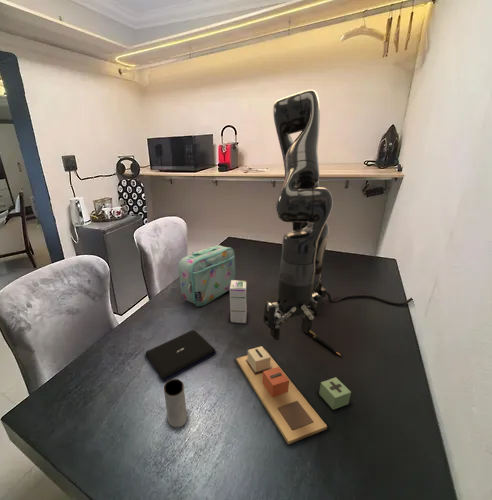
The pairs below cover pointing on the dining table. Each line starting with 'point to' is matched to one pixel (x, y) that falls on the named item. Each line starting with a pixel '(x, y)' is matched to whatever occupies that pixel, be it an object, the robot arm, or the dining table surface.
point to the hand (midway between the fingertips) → (290, 334)
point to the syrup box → (238, 301)
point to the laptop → (179, 354)
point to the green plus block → (334, 393)
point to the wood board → (284, 405)
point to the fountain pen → (322, 342)
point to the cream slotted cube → (258, 359)
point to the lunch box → (207, 274)
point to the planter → (175, 403)
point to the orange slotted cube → (275, 381)
